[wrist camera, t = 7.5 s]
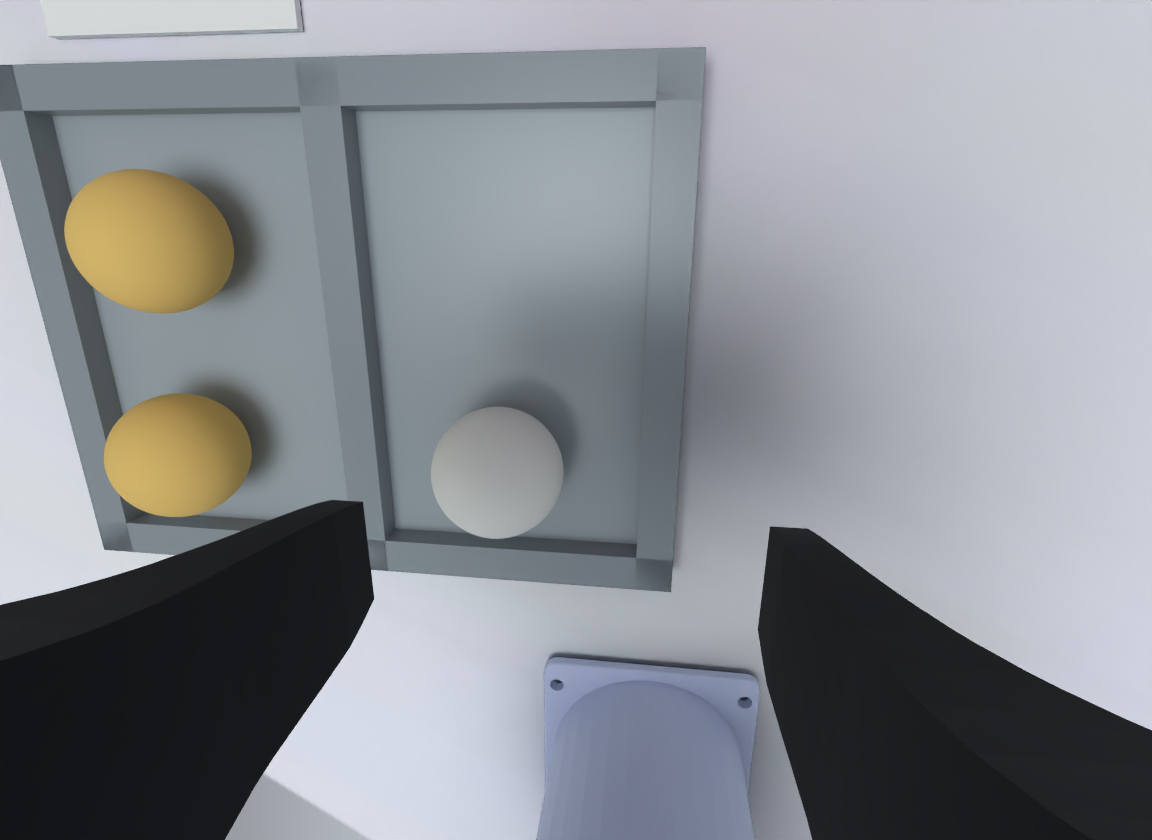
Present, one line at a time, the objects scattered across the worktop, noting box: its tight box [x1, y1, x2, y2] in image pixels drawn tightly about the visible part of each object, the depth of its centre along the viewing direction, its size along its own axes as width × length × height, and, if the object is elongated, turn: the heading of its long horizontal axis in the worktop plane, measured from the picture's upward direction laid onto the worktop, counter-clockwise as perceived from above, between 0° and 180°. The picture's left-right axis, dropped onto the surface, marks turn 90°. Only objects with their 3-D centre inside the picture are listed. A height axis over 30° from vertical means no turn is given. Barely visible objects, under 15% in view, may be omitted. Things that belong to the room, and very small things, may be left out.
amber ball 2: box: [104, 393, 252, 517], centre depth 20 cm, size 4×4×4 cm
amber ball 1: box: [64, 169, 234, 314], centre depth 17 cm, size 4×4×4 cm
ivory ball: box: [431, 407, 564, 539], centre depth 18 cm, size 4×4×4 cm
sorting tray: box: [0, 47, 706, 592], centre depth 20 cm, size 16×21×1 cm
